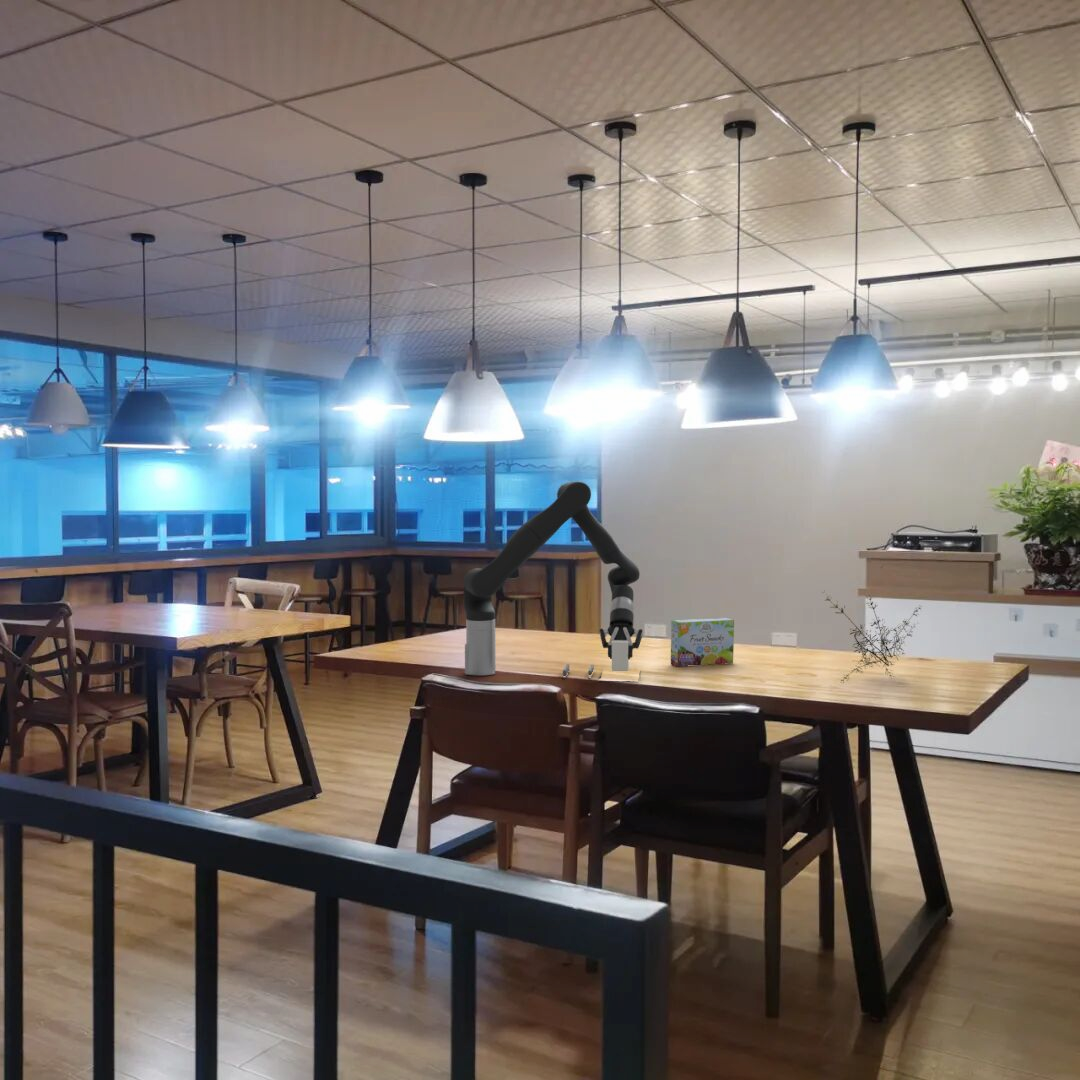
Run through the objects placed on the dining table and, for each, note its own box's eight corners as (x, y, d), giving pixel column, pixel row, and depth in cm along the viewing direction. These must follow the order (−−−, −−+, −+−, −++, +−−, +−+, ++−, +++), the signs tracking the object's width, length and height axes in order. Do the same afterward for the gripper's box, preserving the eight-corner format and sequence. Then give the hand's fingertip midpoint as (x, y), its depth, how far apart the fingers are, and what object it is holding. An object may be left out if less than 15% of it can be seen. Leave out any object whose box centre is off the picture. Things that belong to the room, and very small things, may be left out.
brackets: (563, 678, 325) (563, 670, 325) (566, 671, 337) (566, 664, 337) (590, 679, 324) (590, 670, 324) (593, 672, 336) (593, 664, 336)
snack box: (678, 667, 345) (678, 621, 344) (670, 665, 350) (670, 619, 350) (734, 663, 353) (734, 618, 352) (725, 661, 358) (725, 616, 358)
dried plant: (855, 614, 341) (818, 564, 305) (956, 629, 324) (929, 578, 288) (834, 705, 333) (794, 665, 297) (937, 725, 316) (907, 685, 280)
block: (611, 671, 327) (611, 642, 326) (612, 668, 332) (612, 639, 331) (627, 671, 326) (627, 642, 326) (628, 668, 331) (628, 640, 331)
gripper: (598, 606, 336) (596, 650, 325) (644, 607, 335) (643, 650, 323) (600, 621, 342) (597, 664, 331) (644, 621, 340) (643, 665, 329)
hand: (620, 657), depth 327 cm, fingers closed on block, 5 cm apart
